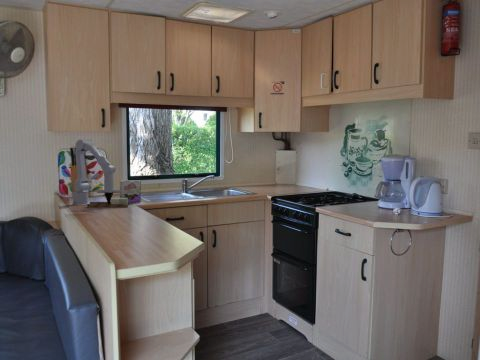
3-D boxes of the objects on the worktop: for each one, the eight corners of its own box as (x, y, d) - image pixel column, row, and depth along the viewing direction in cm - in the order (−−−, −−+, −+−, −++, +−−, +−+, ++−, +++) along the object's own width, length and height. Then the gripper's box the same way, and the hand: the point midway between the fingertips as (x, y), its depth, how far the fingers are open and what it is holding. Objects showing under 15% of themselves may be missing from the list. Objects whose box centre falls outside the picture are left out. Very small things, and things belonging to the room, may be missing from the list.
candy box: (120, 204, 297) (120, 180, 296) (120, 203, 303) (120, 180, 301) (140, 204, 301) (140, 180, 299) (140, 203, 306) (140, 180, 305)
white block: (110, 206, 279) (111, 198, 279) (112, 205, 285) (112, 197, 284) (118, 206, 280) (118, 199, 280) (119, 205, 286) (119, 197, 285)
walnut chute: (87, 209, 273) (87, 204, 273) (90, 206, 286) (90, 201, 286) (127, 209, 278) (127, 204, 278) (129, 206, 291) (129, 201, 290)
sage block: (118, 206, 280) (118, 199, 280) (119, 205, 286) (119, 197, 285) (126, 206, 281) (126, 199, 280) (127, 205, 287) (127, 197, 286)
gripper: (96, 183, 275) (96, 204, 276) (119, 184, 278) (119, 205, 279) (97, 182, 282) (98, 203, 283) (120, 183, 285) (120, 203, 286)
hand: (108, 204), depth 282 cm, fingers closed
